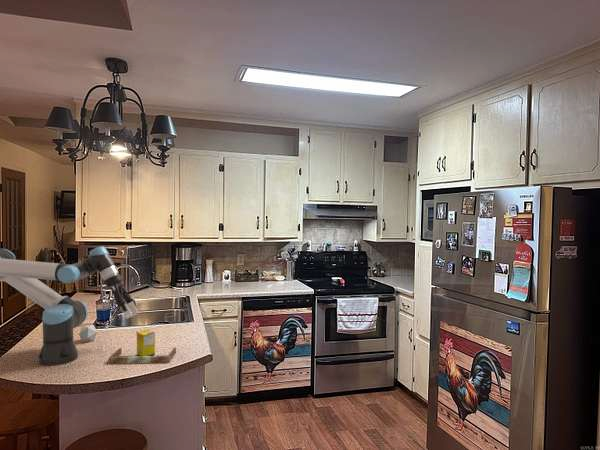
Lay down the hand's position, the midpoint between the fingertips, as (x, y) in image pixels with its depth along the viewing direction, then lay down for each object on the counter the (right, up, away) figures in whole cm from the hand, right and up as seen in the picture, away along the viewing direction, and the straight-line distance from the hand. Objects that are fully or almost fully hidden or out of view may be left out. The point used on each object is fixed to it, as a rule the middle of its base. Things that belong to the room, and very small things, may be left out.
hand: (132, 315), depth 196 cm
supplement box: (+9, -17, -8) cm, 21 cm away
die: (-28, -16, +13) cm, 35 cm away
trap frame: (+9, -17, -11) cm, 22 cm away
